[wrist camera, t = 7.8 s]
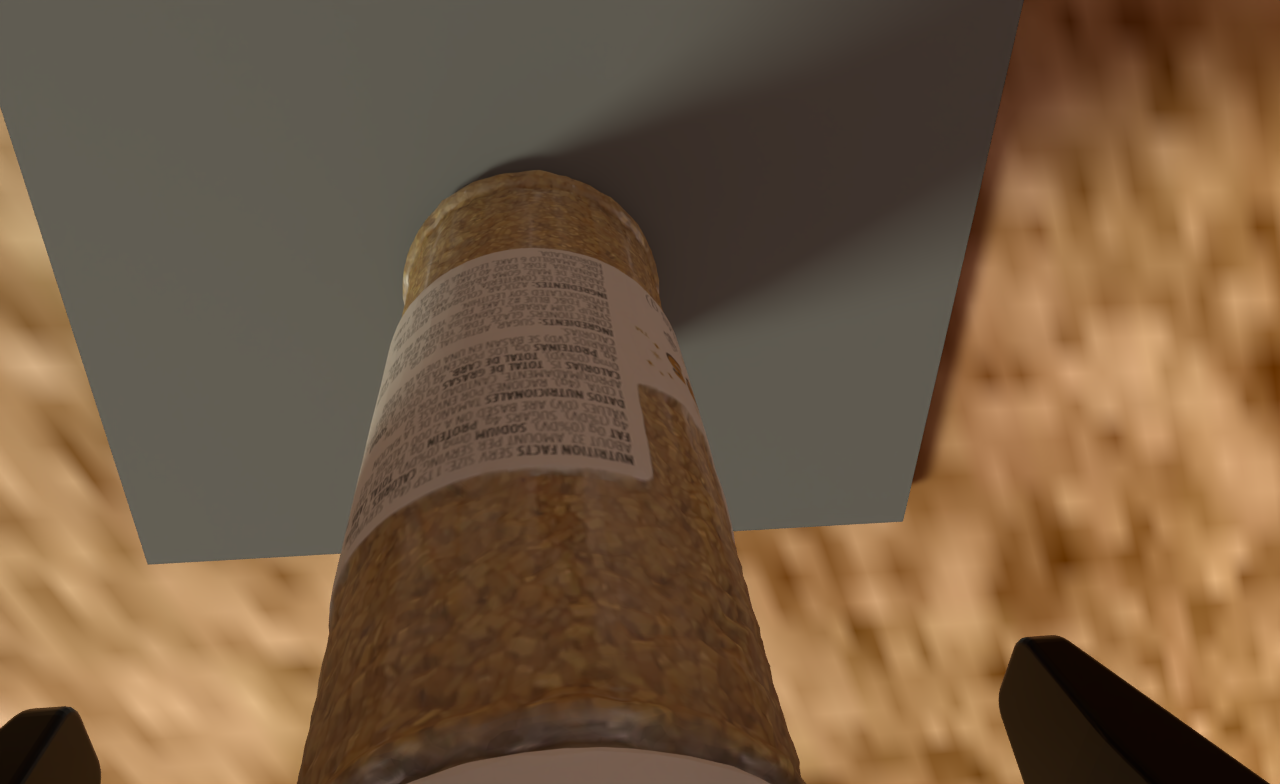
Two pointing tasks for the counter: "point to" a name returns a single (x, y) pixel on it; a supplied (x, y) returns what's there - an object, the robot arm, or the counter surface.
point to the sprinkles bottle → (540, 527)
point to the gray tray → (477, 149)
